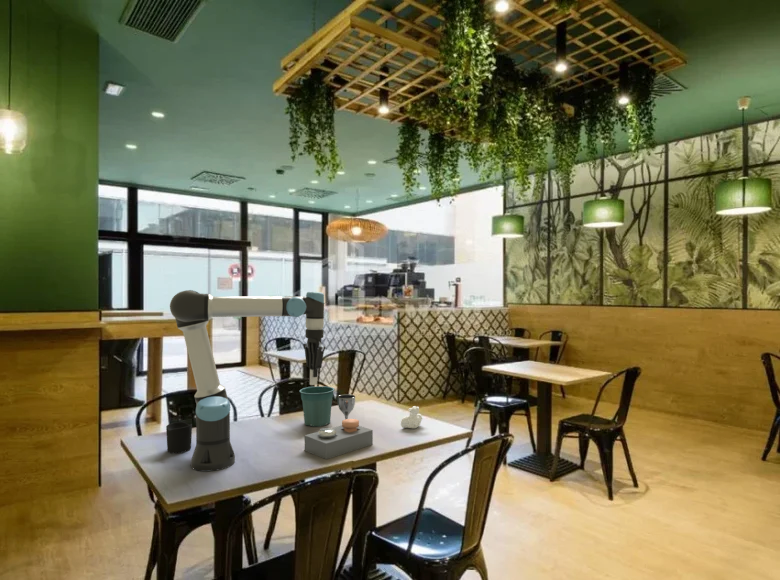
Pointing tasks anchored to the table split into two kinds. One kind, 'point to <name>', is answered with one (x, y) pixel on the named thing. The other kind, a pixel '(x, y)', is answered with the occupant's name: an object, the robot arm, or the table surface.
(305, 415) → the flower pot
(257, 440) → the table surface
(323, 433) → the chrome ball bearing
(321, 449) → the press console
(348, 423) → the peach rounded piece
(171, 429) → the pen holder
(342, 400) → the wine glass
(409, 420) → the bust
